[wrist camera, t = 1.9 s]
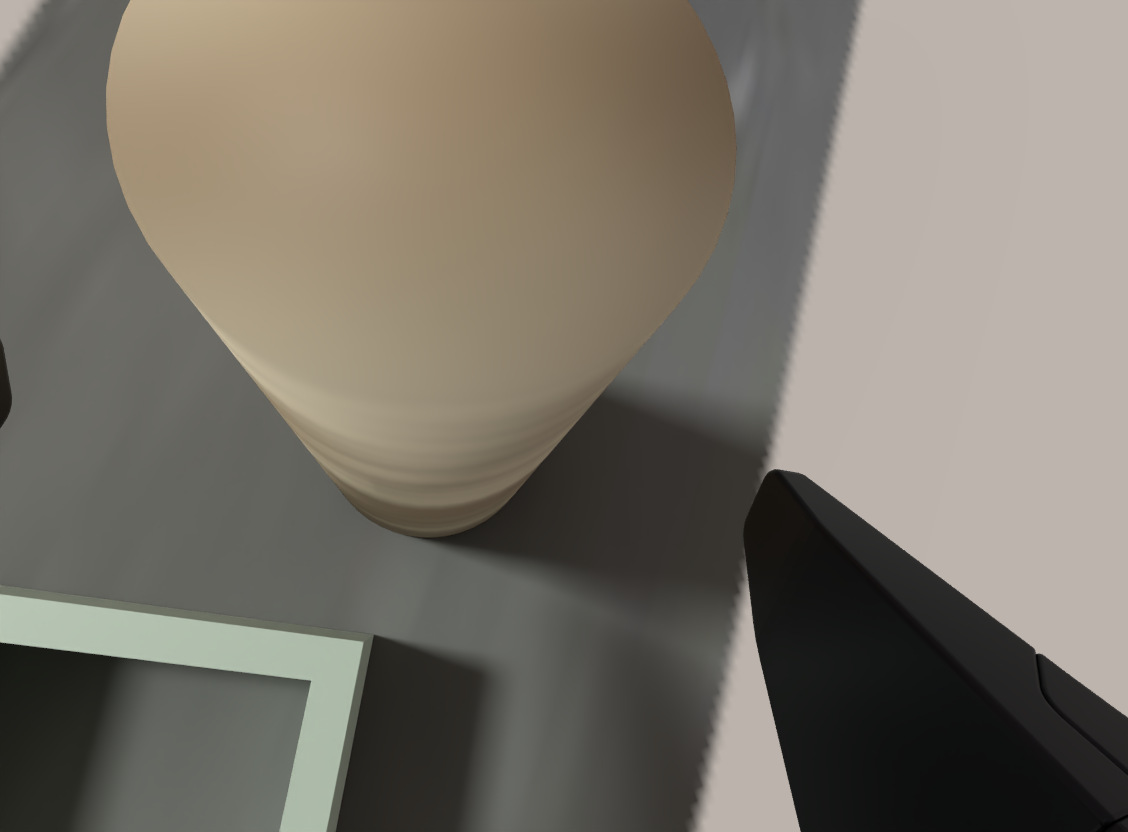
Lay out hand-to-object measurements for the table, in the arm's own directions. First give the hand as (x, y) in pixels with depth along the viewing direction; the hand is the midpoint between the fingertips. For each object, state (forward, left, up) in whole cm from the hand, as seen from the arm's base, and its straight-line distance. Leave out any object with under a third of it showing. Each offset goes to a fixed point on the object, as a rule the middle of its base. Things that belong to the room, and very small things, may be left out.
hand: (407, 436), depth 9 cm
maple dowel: (+2, -1, -9) cm, 10 cm away
